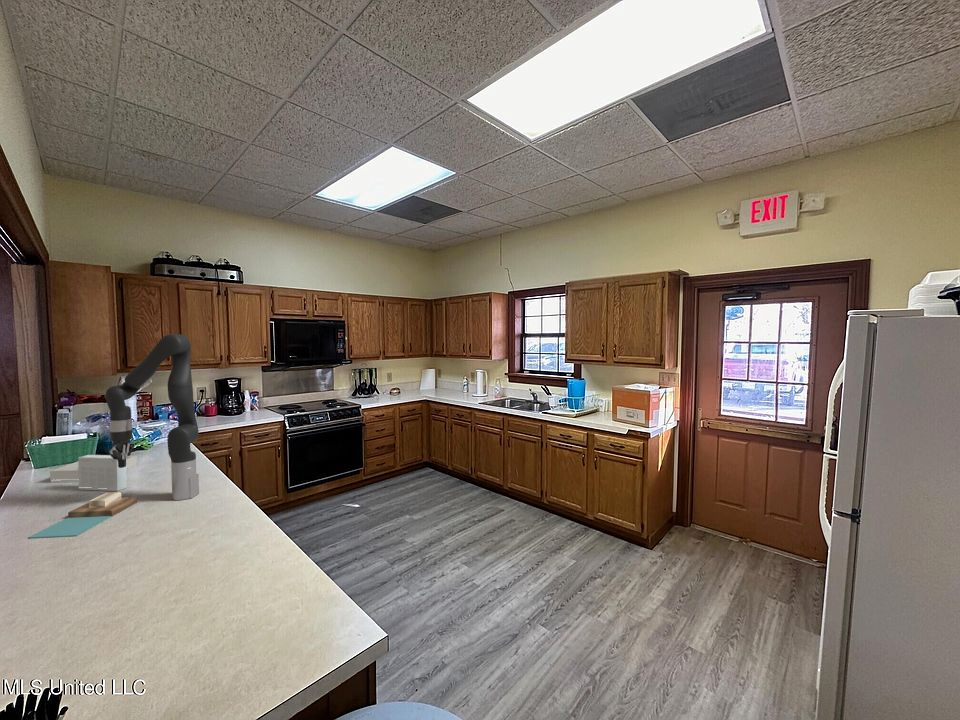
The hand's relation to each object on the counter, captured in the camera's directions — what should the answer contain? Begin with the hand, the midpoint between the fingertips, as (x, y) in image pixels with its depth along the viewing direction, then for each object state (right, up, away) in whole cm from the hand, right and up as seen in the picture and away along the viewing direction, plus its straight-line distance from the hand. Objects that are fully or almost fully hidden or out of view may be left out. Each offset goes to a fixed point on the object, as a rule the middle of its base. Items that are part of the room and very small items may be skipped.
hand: (122, 467), depth 180 cm
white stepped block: (-45, -13, +34) cm, 58 cm away
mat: (+3, -16, -25) cm, 30 cm away
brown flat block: (+1, -16, -10) cm, 19 cm away
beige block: (+1, -13, -9) cm, 16 cm away
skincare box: (-22, -14, +14) cm, 30 cm away
